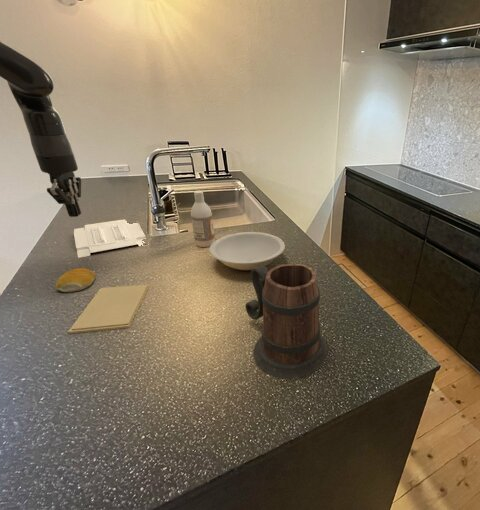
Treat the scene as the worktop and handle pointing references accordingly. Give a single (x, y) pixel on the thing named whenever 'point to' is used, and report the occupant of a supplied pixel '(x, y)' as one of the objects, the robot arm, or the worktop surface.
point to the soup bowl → (247, 249)
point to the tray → (107, 236)
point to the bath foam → (202, 221)
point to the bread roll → (75, 280)
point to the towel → (111, 309)
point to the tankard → (287, 320)
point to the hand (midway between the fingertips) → (75, 215)
